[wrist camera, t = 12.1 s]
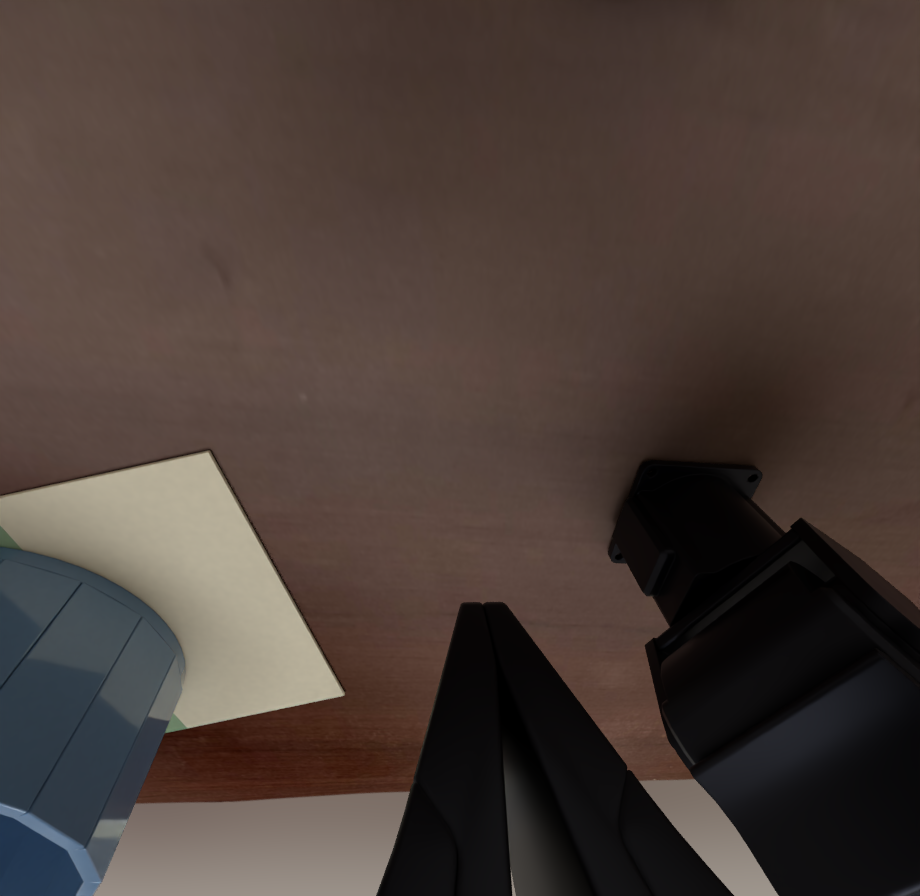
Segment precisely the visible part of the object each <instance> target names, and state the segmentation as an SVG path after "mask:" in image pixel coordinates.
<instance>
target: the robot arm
mask: <svg viewBox="0 0 920 896" xmlns="http://www.w3.org/2000/svg"><path fill="white" fill-rule="evenodd" d="M651 469H653V470H652V471H651V472H650V473H647V472H648V471H649V470H651ZM749 476H750V477H749ZM761 479H762V472H761V471H760V470H758V469H757V468H756V467H755V466H746V465H729V464H711V463H693V462H675V461H657V460H649V461H646V462H644V463H643V464H642V465H641V466H640V468H639V470H638V472H637V475H636V478H635V481H634V483H633V486H632V489H631V491H630V494H629V497H628V499H627V500H626V501H625V503H624V506H623V509H622V512H621V514H620V517H619V520H618V522H617V525H616V528H615V531H614V533H613V540H612V543H611V545H610V548H609V551H608V555H609V557H610V559H611V561H612V562H614V563H627V565H628V566H629V568H630V570H631V572H632V574H633V576H634V577H635V579H636V581H637V583H638V585H639V586H640V588H641V590H642V592H643V593H644V594H645V595H646V596H653V598H654V600H655V602H656V604H657V605H658V607H659V609H660V611H661V612H662V614H663V616H664V618H665V619H666V621H667V623H668V625H669V626H670V628H669V629H667V630H666V631H665V632H664V633H662V634H661V635H660V636H659V637H658V638H653V639H652V640H650V641H649V642H648V643H647V644H646V645H645V649H646V653H647V657H648V662H649V666H650V670H651V675H652V679H653V683H654V688H655V692H656V696H657V700H658V705H659V709H660V713H661V718H662V721H663V725H664V728H665V731H666V734H667V738H668V741H669V743H670V744H671V746H672V747H673V748H674V749H675V750H676V752H677V754H678V755H679V757H680V758H681V760H682V761H683V763H684V764H685V765H686V767H687V768H688V769H689V771H690V772H691V774H692V776H693V777H694V779H695V780H696V781H697V782H698V783H699V784H700V785H701V786H702V787H703V788H704V789H705V790H706V791H707V793H708V794H709V795H710V796H711V797H712V798H713V799H714V800H715V801H716V803H717V804H718V805H719V806H720V808H721V809H722V810H723V812H724V813H725V814H726V816H727V817H728V818H729V820H730V821H731V822H732V824H733V825H734V826H735V827H736V829H737V830H738V832H739V833H740V835H741V837H742V838H743V840H744V841H745V842H746V844H747V846H748V847H749V849H750V850H751V852H752V854H753V855H754V857H755V858H756V860H757V862H758V863H759V865H760V867H761V868H762V870H763V871H764V873H765V875H766V876H767V878H768V879H769V881H770V883H771V884H772V886H773V887H774V889H775V891H776V892H777V894H778V895H779V896H920V610H919V609H918V608H917V607H916V606H915V605H914V604H913V603H912V602H911V601H910V600H909V599H908V598H907V597H906V596H904V595H903V594H902V593H901V592H900V591H898V590H897V589H896V588H895V587H894V586H892V585H891V584H890V583H889V582H888V581H886V580H885V579H884V578H883V577H882V576H881V575H879V574H878V573H877V572H876V571H875V570H873V569H872V568H871V567H870V566H869V565H867V564H866V563H865V562H864V561H863V560H861V559H860V558H859V557H857V556H856V555H854V554H853V553H851V552H850V551H849V550H847V549H846V548H844V547H843V546H841V545H840V544H839V543H837V542H836V541H834V540H833V539H831V538H830V537H829V536H827V535H826V534H824V533H823V532H821V531H820V530H818V529H817V528H816V527H814V526H813V525H811V524H810V523H808V522H807V521H806V520H804V519H803V518H800V519H799V520H798V521H796V522H795V523H794V524H793V525H791V526H790V527H791V528H792V529H790V530H789V531H788V532H787V533H785V532H784V531H783V530H782V529H781V528H780V527H779V526H778V525H777V524H776V523H775V522H774V521H773V520H772V519H771V518H770V517H769V516H768V515H767V514H766V513H765V512H764V511H763V510H761V509H760V508H759V507H758V506H757V505H756V504H755V503H754V502H753V501H752V500H751V498H752V496H753V494H754V492H755V490H756V488H757V486H758V485H759V483H760V481H761ZM618 553H620V554H618ZM617 554H618V555H617ZM510 866H511V869H510ZM511 871H512V876H513V882H514V887H515V892H516V896H734V895H733V894H732V893H731V892H730V891H729V890H728V888H727V887H726V886H725V885H724V884H723V883H722V882H721V880H720V879H719V878H718V877H717V876H716V875H715V874H714V873H713V871H712V870H711V869H710V868H709V867H708V866H707V865H706V863H705V862H704V861H703V860H702V859H701V858H700V856H699V855H698V854H697V853H696V852H695V851H694V849H693V848H692V847H691V846H690V845H689V844H688V842H686V840H685V839H684V838H683V837H682V836H681V834H680V833H679V832H678V831H677V830H676V828H675V827H674V826H673V825H672V823H671V822H670V821H669V820H668V818H667V817H666V816H665V815H664V813H663V812H662V811H661V809H660V808H659V807H658V806H657V804H656V803H655V802H654V801H653V799H652V798H651V797H650V796H649V794H648V793H647V792H646V790H645V789H644V788H643V786H642V785H641V784H640V782H639V781H638V779H637V778H636V777H635V775H634V774H633V773H632V771H630V770H628V771H627V765H626V764H625V762H624V761H623V760H622V758H621V757H620V756H619V754H618V753H617V752H616V750H615V749H614V748H613V746H612V745H611V744H610V742H609V741H608V740H607V738H606V737H605V736H604V734H603V733H602V732H601V730H600V729H599V728H598V726H597V725H596V724H595V722H594V721H593V720H592V718H591V717H590V716H589V714H588V713H587V712H586V710H585V709H584V708H583V706H582V705H581V704H580V702H579V701H578V700H577V698H576V697H575V696H574V694H573V693H572V692H571V690H570V689H569V688H568V686H567V685H566V684H565V682H564V681H563V680H562V678H561V677H560V676H559V674H558V673H557V672H556V670H555V669H554V668H553V666H552V665H551V664H550V662H549V661H548V660H547V658H546V657H545V656H544V654H543V653H542V652H541V650H540V649H539V648H538V646H537V645H536V644H535V642H534V641H533V640H532V638H531V637H530V636H529V634H528V633H527V632H526V630H525V629H524V628H523V626H522V625H521V624H520V622H519V621H518V620H517V618H516V617H515V616H514V614H513V613H512V612H511V610H510V609H509V608H508V606H507V605H506V604H505V603H503V602H486V603H484V604H483V605H482V604H481V603H479V602H464V603H462V604H461V606H460V609H459V612H458V616H457V620H456V623H455V627H454V631H453V635H452V638H451V642H450V646H449V649H448V653H447V657H446V661H445V664H444V668H443V672H442V675H441V679H440V683H439V687H438V690H437V694H436V698H435V701H434V705H433V709H432V713H431V716H430V720H429V724H428V727H427V731H426V735H425V738H424V742H423V746H422V750H421V753H420V757H419V761H418V764H417V768H416V772H415V776H414V782H413V784H412V786H411V789H410V793H409V797H408V801H407V804H406V809H405V812H404V815H403V818H402V822H401V825H400V828H399V831H398V835H397V838H396V841H395V845H394V848H393V851H392V854H391V856H390V859H389V862H388V865H387V867H386V870H385V873H384V876H383V879H382V881H381V884H380V887H379V889H378V892H377V895H376V896H512V885H511Z"/></svg>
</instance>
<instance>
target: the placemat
mask: <svg viewBox="0 0 920 896" xmlns="http://www.w3.org/2000/svg"><path fill="white" fill-rule="evenodd" d="M0 547H7V548H12V549H18V550H24V551H29V552H33V553H37V554H41V555H45V556H49V557H52V558H56V559H59V560H62V561H65V562H68V563H71V564H74V565H76V566H79V567H82V568H84V569H86V570H89V571H91V572H93V573H96V574H98V575H100V576H102V577H104V578H106V579H108V580H110V581H112V582H114V583H115V584H117V585H119V586H121V587H123V588H124V589H126V590H127V591H129V592H130V593H132V594H133V595H135V596H136V597H138V598H139V599H141V600H142V601H143V602H144V603H145V604H147V605H148V606H149V607H150V608H152V609H153V610H154V611H155V612H156V613H157V614H158V615H159V616H160V617H161V618H162V619H163V620H164V621H165V622H166V623H167V625H168V626H169V628H170V629H171V630H172V632H173V633H174V634H175V636H176V638H177V640H178V642H179V644H180V646H181V648H182V651H183V655H184V658H185V668H186V674H185V680H184V684H183V687H182V689H183V690H182V694H181V696H180V698H179V701H178V703H177V705H176V708H175V710H174V712H173V715H172V717H171V720H170V722H169V724H168V727H167V729H166V731H165V733H168V732H172V731H177V730H182V729H187V728H192V727H196V726H201V725H206V724H211V723H216V722H220V721H225V720H230V719H235V718H239V717H244V716H249V715H254V714H259V713H263V712H268V711H273V710H278V709H283V708H287V707H292V706H297V705H302V704H306V703H311V702H316V701H321V700H326V699H330V698H335V697H340V696H344V695H345V692H344V690H343V689H342V687H341V685H340V683H339V681H338V680H337V678H336V676H335V674H334V672H333V671H332V669H331V667H330V665H329V663H328V662H327V660H326V658H325V656H324V654H323V653H322V651H321V649H320V647H319V645H318V644H317V642H316V640H315V638H314V636H313V635H312V633H311V631H310V629H309V627H308V626H307V624H306V622H305V620H304V618H303V617H302V615H301V613H300V611H299V609H298V608H297V606H296V604H295V602H294V601H293V599H292V597H291V595H290V593H289V592H288V590H287V588H286V586H285V584H284V583H283V581H282V579H281V577H280V575H279V574H278V572H277V570H276V568H275V566H274V565H273V563H272V561H271V559H270V557H269V556H268V554H267V552H266V550H265V548H264V547H263V545H262V543H261V541H260V539H259V538H258V536H257V534H256V532H255V530H254V529H253V527H252V525H251V523H250V521H249V520H248V518H247V516H246V514H245V513H244V511H243V509H242V507H241V505H240V504H239V502H238V500H237V498H236V496H235V495H234V493H233V491H232V489H231V487H230V486H229V484H228V482H227V480H226V478H225V477H224V475H223V473H222V471H221V469H220V468H219V466H218V464H217V462H216V460H215V459H214V457H213V455H212V453H211V451H210V450H208V451H203V452H199V453H194V454H190V455H185V456H181V457H176V458H171V459H167V460H162V461H158V462H153V463H149V464H144V465H139V466H135V467H130V468H126V469H121V470H117V471H112V472H107V473H103V474H98V475H94V476H89V477H85V478H80V479H75V480H71V481H66V482H62V483H57V484H53V485H48V486H43V487H39V488H34V489H30V490H25V491H21V492H16V493H11V494H7V495H2V496H0Z"/></svg>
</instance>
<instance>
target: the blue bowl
mask: <svg viewBox="0 0 920 896" xmlns="http://www.w3.org/2000/svg"><path fill="white" fill-rule="evenodd" d="M185 674H186V668H185V658H184V655H183V651H182V648H181V646H180V644H179V642H178V640H177V638H176V636H175V634H174V633H173V632H172V630H171V629H170V628H169V626H168V625H167V623H166V622H165V621H164V620H163V619H162V618H161V617H160V616H159V615H158V614H157V613H156V612H155V611H154V610H153V609H152V608H150V607H149V606H148V605H147V604H145V603H144V602H143V601H142V600H141V599H139V598H138V597H136V596H135V595H133V594H132V593H130V592H129V591H127V590H126V589H124V588H123V587H121V586H119V585H117V584H115V583H114V582H112V581H110V580H108V579H106V578H104V577H102V576H100V575H98V574H96V573H93V572H91V571H89V570H86V569H84V568H82V567H79V566H76V565H74V564H71V563H68V562H65V561H62V560H59V559H56V558H52V557H49V556H45V555H41V554H37V553H33V552H29V551H24V550H18V549H12V548H7V547H0V896H93V895H94V894H95V892H96V890H97V889H98V887H99V886H100V884H101V882H102V880H103V878H104V876H105V873H106V871H107V869H108V866H109V864H110V861H111V859H112V857H113V854H114V852H115V850H116V847H117V845H118V843H119V840H120V837H121V836H122V833H123V831H124V828H125V826H126V824H127V821H128V819H129V816H130V814H131V812H132V809H133V807H134V805H135V802H136V800H137V798H138V795H139V793H140V791H141V788H142V786H143V783H144V781H145V779H146V776H147V774H148V772H149V769H150V767H151V765H152V762H153V760H154V757H155V755H156V753H157V750H158V748H159V746H160V743H161V741H162V738H163V736H164V734H165V731H166V729H167V727H168V724H169V722H170V720H171V717H172V715H173V712H174V710H175V708H176V705H177V703H178V701H179V698H180V696H181V694H182V690H183V689H182V687H183V684H184V680H185Z"/></svg>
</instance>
